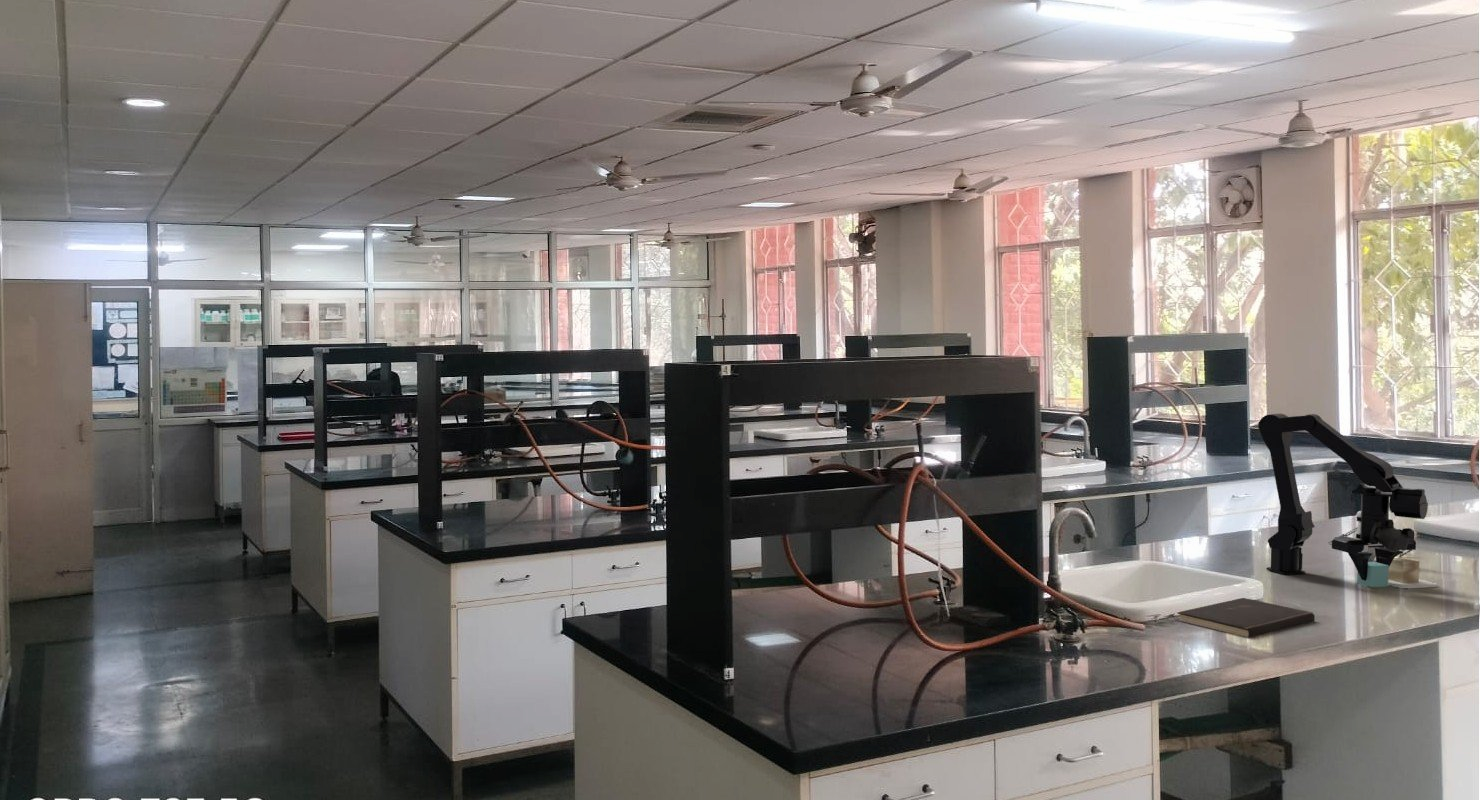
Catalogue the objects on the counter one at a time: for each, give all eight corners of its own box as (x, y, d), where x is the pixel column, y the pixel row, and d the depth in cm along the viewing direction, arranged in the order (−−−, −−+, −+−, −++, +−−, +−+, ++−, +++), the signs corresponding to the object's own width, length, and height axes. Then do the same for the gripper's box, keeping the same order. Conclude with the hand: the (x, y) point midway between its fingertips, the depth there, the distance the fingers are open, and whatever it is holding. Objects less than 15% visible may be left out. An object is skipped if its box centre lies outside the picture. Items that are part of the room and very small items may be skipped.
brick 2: (1402, 583, 262) (1403, 562, 262) (1387, 579, 267) (1388, 558, 266) (1418, 582, 263) (1419, 561, 263) (1403, 578, 268) (1404, 557, 267)
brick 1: (1371, 587, 260) (1372, 566, 260) (1357, 583, 265) (1357, 562, 265) (1388, 586, 261) (1388, 565, 261) (1373, 582, 266) (1373, 561, 266)
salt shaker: (1375, 563, 288) (1376, 513, 287) (1350, 560, 291) (1351, 511, 290) (1378, 560, 292) (1380, 510, 292) (1353, 557, 296) (1355, 508, 295)
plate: (1401, 588, 259) (1401, 586, 259) (1368, 579, 269) (1369, 577, 269) (1438, 586, 261) (1438, 584, 261) (1404, 577, 271) (1404, 575, 271)
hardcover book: (1177, 623, 230) (1177, 612, 230) (1242, 608, 243) (1243, 597, 243) (1249, 640, 217) (1249, 629, 217) (1314, 624, 230) (1315, 613, 230)
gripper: (1367, 521, 252) (1364, 589, 253) (1436, 518, 256) (1434, 585, 257) (1330, 513, 263) (1329, 578, 264) (1398, 510, 267) (1395, 575, 268)
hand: (1372, 579), depth 263 cm, fingers closed on brick 1, 4 cm apart
